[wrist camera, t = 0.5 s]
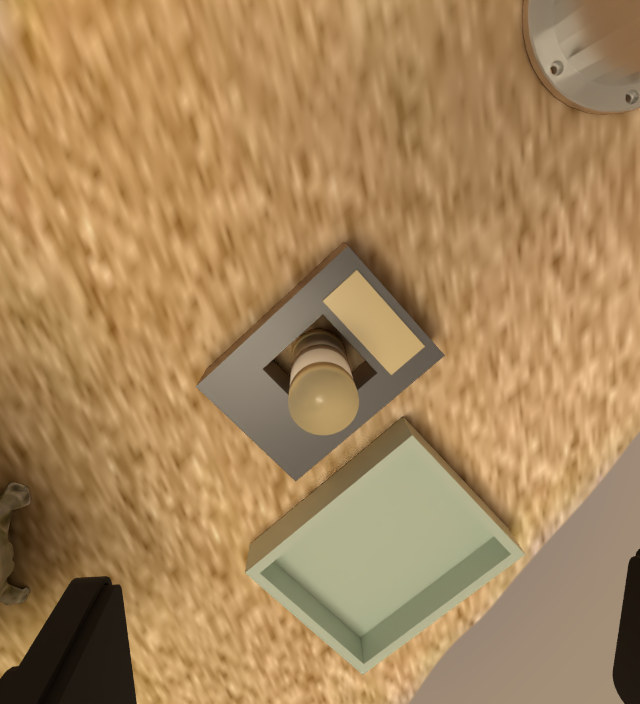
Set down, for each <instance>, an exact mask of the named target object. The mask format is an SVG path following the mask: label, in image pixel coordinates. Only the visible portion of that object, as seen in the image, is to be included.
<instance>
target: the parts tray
mask: <svg viewBox="0 0 640 704" xmlns="http://www.w3.org/2000/svg"><path fill="white" fill-rule="evenodd" d="M524 555H525V553H524V552H523V550H522V549H521V547H520V546H519V544H518V543H517V541H516V539H515V538H514V536H513V535H512V533H511V532H510V530H509V529H508V527H507V526H506V525H505V524H504V523H503V522H502V521H501V520H500V519H499V518H498V517H497V516H496V515H495V514H494V512H493V511H492V510H491V509H490V508H489V507H488V506H487V505H486V504H485V503H484V502H483V501H482V500H481V499H480V498H479V497H478V496H477V494H476V493H475V492H474V491H473V490H472V489H471V488H470V487H469V486H468V485H467V484H466V483H465V482H464V481H463V480H462V479H461V477H460V476H459V475H458V474H457V473H456V472H455V471H454V470H453V469H452V468H451V467H450V466H449V465H448V464H447V463H446V462H445V460H444V459H443V458H442V457H441V456H440V455H439V454H438V453H437V452H436V451H435V450H434V449H433V448H432V447H431V446H430V445H429V443H428V442H427V441H426V440H425V439H424V438H423V437H422V436H421V435H420V434H419V433H418V432H417V431H416V430H415V429H414V428H413V426H412V425H411V424H410V423H409V422H408V421H407V420H406V419H405V418H404V417H402V418H401V419H400V420H398V421H397V422H396V423H395V424H394V425H392V426H391V427H390V428H389V429H388V430H386V431H385V432H384V433H383V434H382V435H380V436H379V437H378V438H377V439H376V440H374V441H373V442H372V443H371V444H370V445H368V446H367V447H366V448H365V449H364V450H362V451H361V452H360V453H359V454H358V455H356V456H355V457H354V458H353V459H352V460H350V461H349V462H348V463H347V464H346V465H344V466H343V467H342V468H341V469H340V470H338V471H337V472H336V473H335V474H334V475H332V476H331V477H330V478H329V479H328V480H326V481H325V482H324V483H323V484H322V485H320V486H319V487H318V488H317V489H316V490H314V491H313V492H312V493H311V494H310V495H308V496H307V497H306V498H305V499H304V500H302V501H301V502H300V503H299V504H298V505H296V506H295V507H294V508H293V509H292V510H290V511H289V512H288V513H287V514H286V515H284V516H283V517H282V518H281V519H280V520H278V521H277V522H276V523H275V524H274V525H272V526H271V527H270V528H269V529H268V530H266V531H265V532H264V533H263V534H262V535H260V536H259V537H258V538H257V539H256V540H254V541H253V542H252V543H251V544H250V546H249V552H248V558H247V564H246V570H245V573H246V574H247V575H248V576H249V577H250V578H252V579H253V580H254V581H255V582H256V583H257V584H258V585H260V586H261V587H262V588H263V589H264V590H265V591H267V592H268V593H269V594H270V595H271V596H272V597H273V598H275V599H276V600H277V601H278V602H279V603H280V604H282V605H283V606H284V607H285V608H286V609H287V610H289V611H290V612H291V613H292V614H293V615H294V616H295V617H297V618H298V619H299V620H300V621H301V622H302V623H304V624H305V625H306V626H307V627H308V628H309V629H310V630H312V631H313V632H314V633H315V634H316V635H317V636H319V637H320V638H321V639H322V640H323V641H324V642H326V643H327V644H328V645H329V646H330V647H331V648H332V649H334V650H335V651H336V652H337V653H338V654H339V655H341V656H342V657H343V658H344V659H345V660H346V661H347V662H349V663H350V664H351V665H352V666H353V667H354V668H356V669H357V670H358V671H359V672H360V673H361V674H365V673H366V672H368V671H369V670H370V669H372V668H373V667H374V666H376V665H377V664H378V663H380V662H381V661H382V660H384V659H385V658H386V657H388V656H389V655H390V654H392V653H393V652H394V651H396V650H397V649H399V648H400V647H401V646H403V645H404V644H405V643H407V642H408V641H409V640H411V639H412V638H413V637H415V636H416V635H417V634H419V633H420V632H421V631H423V630H424V629H426V628H427V627H428V626H430V625H431V624H432V623H434V622H435V621H436V620H438V619H439V618H440V617H442V616H443V615H444V614H446V613H447V612H448V611H450V610H451V609H452V608H454V607H455V606H457V605H458V604H459V603H461V602H462V601H463V600H465V599H466V598H467V597H469V596H470V595H471V594H473V593H474V592H475V591H477V590H478V589H479V588H481V587H482V586H484V585H485V584H486V583H488V582H489V581H490V580H492V579H493V578H494V577H496V576H497V575H498V574H500V573H501V572H502V571H504V570H505V569H506V568H508V567H509V566H511V565H512V564H513V563H515V562H516V561H517V560H519V559H520V558H521V557H523V556H524Z"/></svg>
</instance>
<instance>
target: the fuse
mask: <svg viewBox="0 0 640 704" xmlns="http://www.w3.org/2000/svg"><path fill="white" fill-rule="evenodd" d="M288 407H289V411H290V414H291V416H292V418H293V420H294V421H295V423H296V424H297V425H298V426H299V427H300V428H302V429H303V430H305V431H307V432H309V433H312V434H316V435H331V434H335V433H337V432H340V431H341V430H343V429H345V428H346V427H347V426H348V425H349V424H350V423H351V422H352V421H353V420H354V418H355V416H356V414H357V411H358V408H359V395H358V392H357V388H356V385H355V382H354V380H353V377H352V373H351V369H350V365H349V362H348V360H347V357H346V352H345V349H344V346H343V344H342V342H341V340H340V339H339V338H338V337H337V336H336V335H335V334H333V333H332V332H330V331H327V330H323V329H315V330H310V331H308V332H306V333H304V334H302V335H301V336H300V337H299V338H298V339H297V341H296V342H295V344H294V346H293V350H292V365H291V372H290V388H289V397H288Z"/></svg>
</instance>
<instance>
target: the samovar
mask: <svg viewBox="0 0 640 704" xmlns="http://www.w3.org/2000/svg"><path fill="white" fill-rule="evenodd" d="M30 502H31V496H30V491H29V489H28V487H27V486H24V485H22V484H19V483H15V482H13V483H10V484H9V485H8V487H7V489H6V490H5V491H4V492H3V494H2V495H1V496H0V601H1V602H2V603H4V604H5V605H11V604H20V603H22V602H24V601H25V600H26V599H27V596H28V594H29V592H30V590H29V589H28V588H25V589H20V588H17V587H14V586H12V585H10V584H8V583H7V577H8V576H9V575H10V574H11V573H12V572H13V569H14V566H15V564H14V562H13V561H12V559H13V555H14V551H13V545H12V544H11V543H10V542H9V541H8V530H9V525H10V519H11V514H12V511H15V510H17V509H20V508H22V507H24V506H26V505H29V504H30Z"/></svg>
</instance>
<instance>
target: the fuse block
mask: <svg viewBox="0 0 640 704" xmlns="http://www.w3.org/2000/svg"><path fill="white" fill-rule="evenodd" d="M322 315H324V316H325V317H326V318H327V319H328V320H329V321H330V322H331V323H332V325H333V326H334V327H335V328H336V329H337V330H338V331H339V332H340V333H341V334H342V335H343V336H344V337H345V338H346V340H347V341H348V342H349V343H350V344H351V345H352V346H353V347H354V348H355V349H356V350H357V351H358V352H359V353H360V355H361V356H362V357H363V358H364V359H365V360H366V361H365V362H364V363H363V364H362V365H360V366H359V367H358V368H357V369H356V370H355V371H354V372H352V377H353V380H354V382H355V385H356V388H357V392H358V395H359V408H358V411H357V414H356V416H355V418H354V420H353V421H352V422H351V423H350V424H349V425H348V426H347V427H346V428H345V429H343V430H341V431H340V432H337V433H335V434H331V435H316V434H312V433H309V432H307V431H305V430H303V429H302V428H300V427H299V426H298V425H297V424H296V423H295V421H294V420H293V418H292V416H291V414H290V411H289V407H288V397H289V388H290V377H289V376H288V375H287V374H286V373H285V372H284V371H283V370H282V369H281V368H280V367H279V366H278V365H277V364H276V363H275V362H274V361H273V359H274V358H275V357H276V356H277V355H278V354H280V353H281V352H282V351H283V350H284V349H285V348H286V347H287V346H288V345H290V344H291V343H292V342H293V341H294V340H295V339H296V338H297V337H298V336H299V335H301V334H302V333H303V332H304V331H305V330H306V329H307V328H308V327H309V326H311V325H312V324H313V323H314V322H315V321H316V320H317V319H318V318H319V317H320V316H322ZM444 356H445V355H444V354H443V353H442V352H441V351H440V350H439V348H438V347H437V346H436V345H435V344H434V343H433V342H432V340H431V339H430V338H429V337H428V336H427V335H426V334H425V332H424V331H423V330H422V329H421V328H420V327H419V326H418V325H417V323H416V322H415V321H414V320H413V319H412V318H411V317H410V315H409V314H408V313H407V312H406V311H405V310H404V309H403V308H402V306H401V305H400V304H399V303H398V302H397V301H396V300H395V298H394V297H393V296H392V295H391V294H390V293H389V292H388V290H387V289H386V288H385V287H384V286H383V285H382V284H381V283H380V281H379V280H378V279H377V278H376V277H375V276H374V275H373V273H372V272H371V271H370V270H369V269H368V268H367V267H366V266H365V264H364V263H363V262H362V261H361V260H360V259H359V258H358V256H357V255H356V254H355V253H354V252H353V251H352V250H351V249H350V247H349V246H348V245H346V244H345V243H344V242H343V243H342V244H341V245H340V246H339V247H338V248H337V249H336V250H335V251H334V252H332V253H331V254H330V255H329V256H328V257H327V258H326V259H325V260H324V261H323V262H322V263H321V264H320V265H318V266H317V267H316V268H315V269H314V270H313V271H312V272H311V273H310V274H309V275H308V276H307V277H306V278H304V279H303V280H302V281H301V282H300V283H299V284H298V285H297V286H296V287H295V288H294V289H293V290H292V291H290V292H289V293H288V294H287V295H286V296H285V297H284V298H283V299H282V300H281V301H280V302H279V303H277V304H276V305H275V306H274V307H273V308H272V309H271V310H270V311H269V312H268V313H267V314H266V315H265V316H263V317H262V318H261V319H260V320H259V321H258V322H257V323H256V324H255V325H254V326H253V327H252V328H251V329H249V330H248V331H247V332H246V333H245V334H244V335H243V336H242V337H241V338H240V339H239V340H238V341H236V342H235V343H234V344H233V345H232V346H231V347H230V348H229V349H228V350H227V351H226V352H225V353H224V354H222V355H221V356H220V357H219V358H218V359H217V360H216V361H215V362H214V363H213V364H212V365H211V366H210V367H208V368H207V369H206V371H205V373H204V374H203V376H202V377H201V379H200V381H199V382H198V384H197V386H196V387H197V388H198V389H199V390H200V391H201V392H202V393H203V394H204V395H205V396H206V397H207V398H208V399H209V400H211V401H212V402H213V403H214V404H215V405H216V406H217V407H218V408H219V409H220V410H221V411H222V412H223V413H224V414H225V415H226V416H227V417H228V418H229V419H231V420H232V421H233V422H234V423H235V424H236V425H237V426H238V427H239V428H240V429H241V430H242V431H243V432H244V433H245V434H246V435H247V436H248V437H249V438H251V439H252V440H253V441H254V442H255V443H256V444H257V445H258V446H259V447H260V448H261V449H262V450H263V451H264V452H265V453H266V454H267V455H268V456H269V457H271V458H272V459H273V460H274V461H275V462H276V463H277V464H278V465H279V466H280V467H281V468H282V469H283V470H284V471H285V472H286V473H287V474H288V475H289V476H291V477H292V478H293V479H294V480H295V481H297V480H298V479H299V478H300V477H301V476H303V475H304V474H305V473H306V472H307V471H309V470H310V469H311V468H312V467H313V466H314V465H316V464H317V463H318V462H319V461H320V460H322V459H323V458H324V457H325V456H326V455H327V454H329V453H330V452H331V451H332V450H333V449H335V448H336V447H337V446H338V445H339V444H341V443H342V442H343V441H344V440H345V439H346V438H348V437H349V436H350V435H351V434H352V433H354V432H355V431H356V430H357V429H358V428H359V427H361V426H362V425H363V424H364V423H365V422H367V421H368V420H369V419H370V418H371V417H372V416H374V415H375V414H376V413H377V412H378V411H380V410H381V409H382V408H383V407H384V406H386V405H387V404H388V403H389V402H390V401H391V400H393V399H394V398H395V397H396V396H397V395H399V394H400V393H401V392H402V391H403V390H404V389H406V388H407V387H408V386H409V385H410V384H412V383H413V382H414V381H415V380H416V379H417V378H419V377H420V376H421V375H422V374H423V373H425V372H426V371H427V370H428V369H429V368H431V367H432V366H433V365H434V364H435V363H436V362H438V361H439V360H440V359H441V358H442V357H444Z"/></svg>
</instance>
